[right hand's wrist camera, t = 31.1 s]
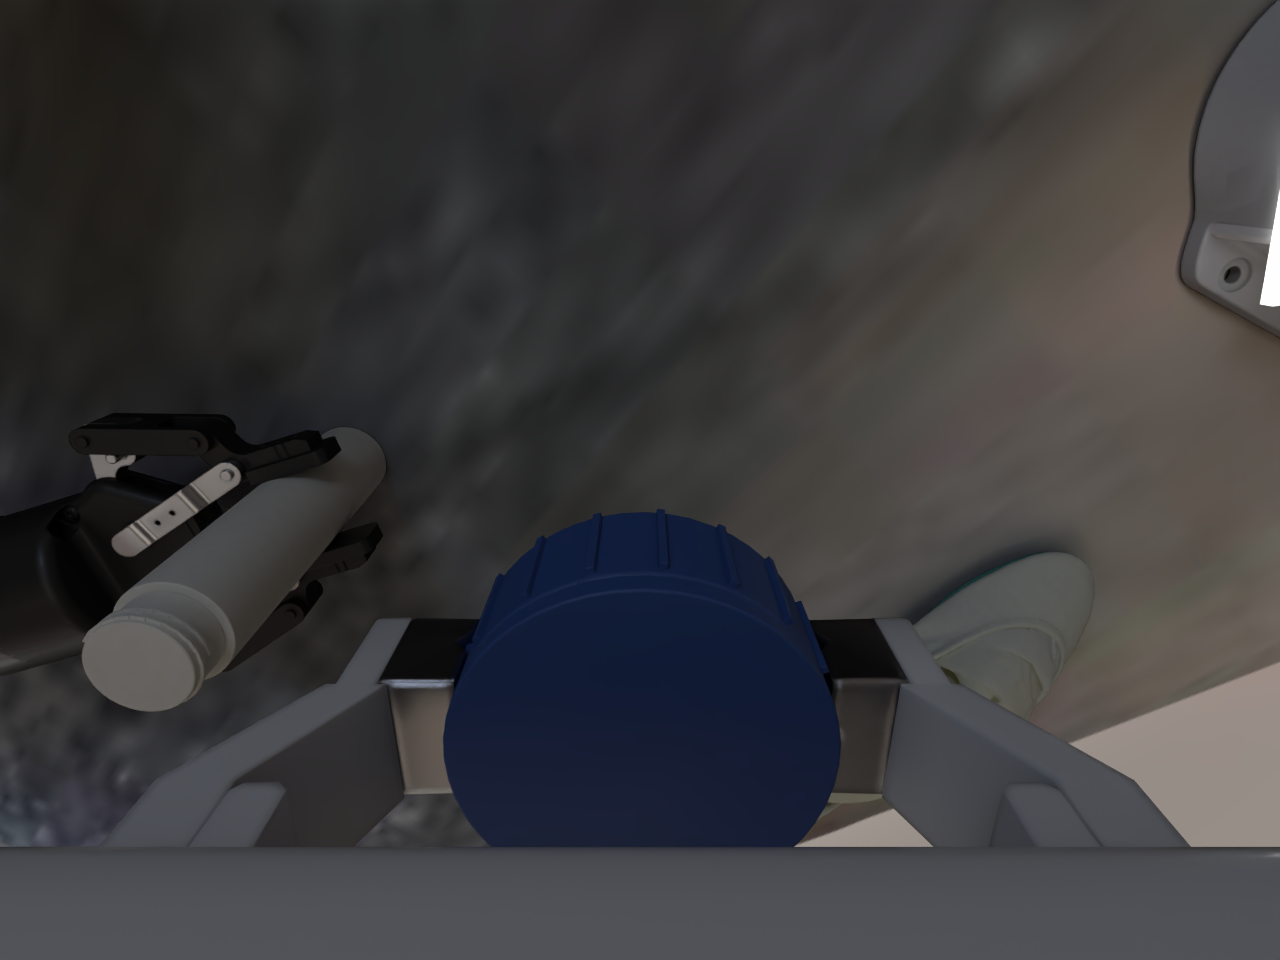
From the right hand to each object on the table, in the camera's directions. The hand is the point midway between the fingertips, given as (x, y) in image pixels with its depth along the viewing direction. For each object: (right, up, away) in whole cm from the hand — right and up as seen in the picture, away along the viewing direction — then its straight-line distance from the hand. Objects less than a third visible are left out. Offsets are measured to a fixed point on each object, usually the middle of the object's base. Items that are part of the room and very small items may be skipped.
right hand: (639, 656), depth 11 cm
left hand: (-14, +2, +23) cm, 27 cm away
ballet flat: (+17, -9, +35) cm, 41 cm away
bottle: (-16, +4, +29) cm, 34 cm away
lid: (0, -1, -2) cm, 2 cm away
